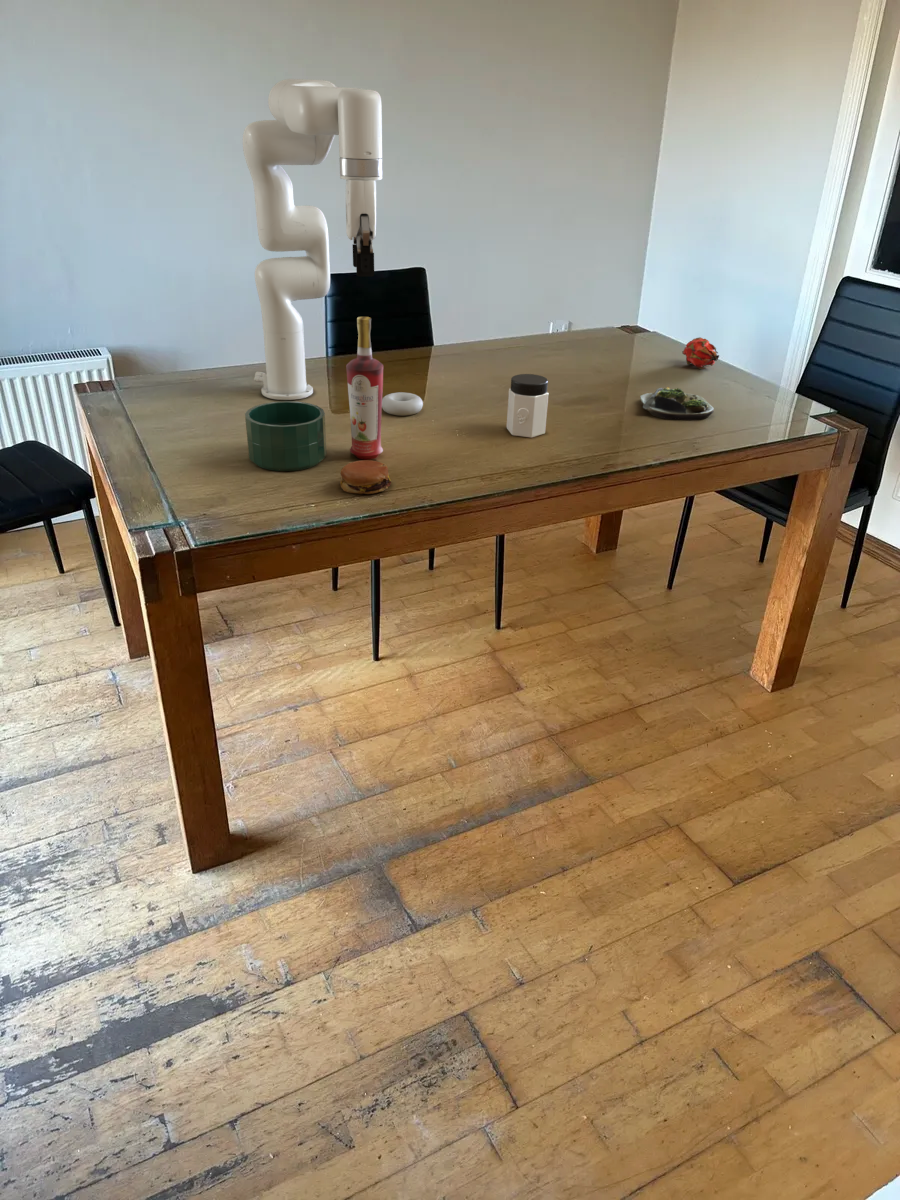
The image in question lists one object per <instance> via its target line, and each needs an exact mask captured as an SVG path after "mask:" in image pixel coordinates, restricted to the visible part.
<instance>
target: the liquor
mask: <svg viewBox="0 0 900 1200" xmlns="http://www.w3.org/2000/svg"><path fill="white" fill-rule="evenodd" d="M356 327H357V334H358V335H357V337H358V339H357V350H356V351H357V352H356V353H357V354H356V358H353V359H351V360H350V361H349V362H348V363H347V364H346V366H345V367H346V368H345V369H346V380H347V383H346V384H347V395H348V404H349V418H350V434H351V446H350V448H349V452H350V453H351V454H352V455H353V456H355V458H357V459H359V460H370V461H372V460H374V459H375V460H376V458H378V457H379V456H380V455H381V454H382V453H383V452H384V448H383V446H382V410H383V408H382V399H383V393H384V392H383V389H384V364H383V363H382V362H380V361H379V360H378V359H376V358H373V350H372V342H371V330H372V317H369V316H358V317H357V318H356Z"/></svg>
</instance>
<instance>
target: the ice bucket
mask: <svg viewBox="0 0 900 1200" xmlns="http://www.w3.org/2000/svg"><path fill="white" fill-rule="evenodd" d="M244 418H245V419H244V420H245V429H246V430H245V431H246V440H247V441H246V442H247V451H248V459H249V460H250V462H252V463H254V464H255V465H256V466H258V467H260V468H262V469H266V470H269V471H275V472H294V471H301V470H307V469H309V468H310V469H311V468H312V467H315V466H317V465H318V464H320V463H321V462H322V461H323V460H324V459H325V458H326V457H327V431H326V413H325V411H324V409H323V408H322V407H320V406H318V405H317V404H314V403H309V402H303V401H296V400H280V401H272V402H265V403H261V404H257V405H255V406H252V407H251V408H249V409H247V410H246V411H245V413H244Z"/></svg>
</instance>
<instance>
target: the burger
mask: <svg viewBox="0 0 900 1200" xmlns="http://www.w3.org/2000/svg"><path fill="white" fill-rule="evenodd" d="M339 482H340V483H339V484H340V487H341V490H343V492H346V493H349V494H358V495H363V494H365V495H373V494H378V493H380V492H381V493H382V492H385V490H387V489H388V488H389V487H390V486H391V484H392V480H391V477H390V475H389V468H388V466H387V464H386V463H384V462H379V461H377V460H363V459H361V460H356V461H352V462H349V463H347V464H345V465H344V466H343V467H342V468H341V470H340V481H339Z"/></svg>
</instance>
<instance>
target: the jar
mask: <svg viewBox="0 0 900 1200" xmlns="http://www.w3.org/2000/svg"><path fill="white" fill-rule="evenodd" d="M548 385H549V379H548V378H547V377H545V376H542V375H538V374H534V373H533V374H531V373H521V374H515V375H513V376H512V377H511V378H510V387H509V389H508V401H507V414H506V429H507V431H508V432H509V433H510V434H511V435H512V436H515V437H522V438H530V439H532V438H536V437H538V436H542V435H545V433H546V428H547V427H546V426H547V415H548V405H549V392H548Z"/></svg>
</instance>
